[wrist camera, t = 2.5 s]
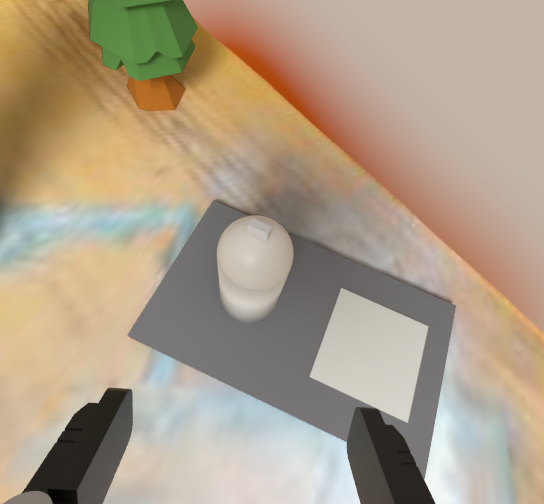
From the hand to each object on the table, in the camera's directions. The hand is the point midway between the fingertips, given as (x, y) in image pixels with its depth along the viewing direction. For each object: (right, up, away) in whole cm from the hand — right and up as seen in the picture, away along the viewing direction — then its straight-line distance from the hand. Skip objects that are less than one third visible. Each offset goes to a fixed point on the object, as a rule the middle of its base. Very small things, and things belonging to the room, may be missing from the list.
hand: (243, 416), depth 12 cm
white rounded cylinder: (-1, +2, +16) cm, 17 cm away
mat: (+4, 0, +17) cm, 17 cm away
